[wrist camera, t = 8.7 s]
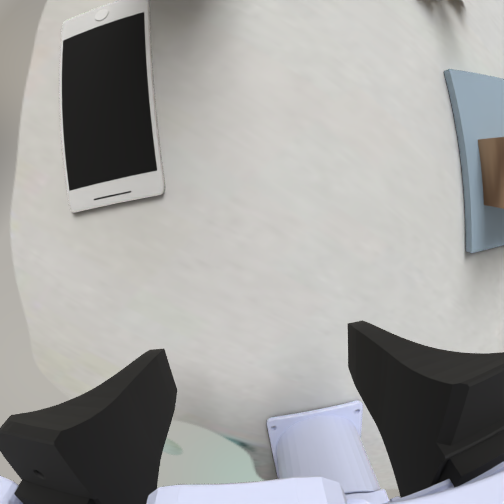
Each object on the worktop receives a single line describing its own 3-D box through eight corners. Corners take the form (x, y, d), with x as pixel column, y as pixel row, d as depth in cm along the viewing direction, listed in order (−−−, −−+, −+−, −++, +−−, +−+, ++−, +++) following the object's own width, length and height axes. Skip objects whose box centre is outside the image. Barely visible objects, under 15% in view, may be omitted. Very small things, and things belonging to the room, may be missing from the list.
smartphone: (150, -4, 16) (146, -10, 15) (168, 193, 20) (164, 194, 19) (66, 25, 16) (61, 21, 16) (75, 212, 20) (69, 213, 19)
